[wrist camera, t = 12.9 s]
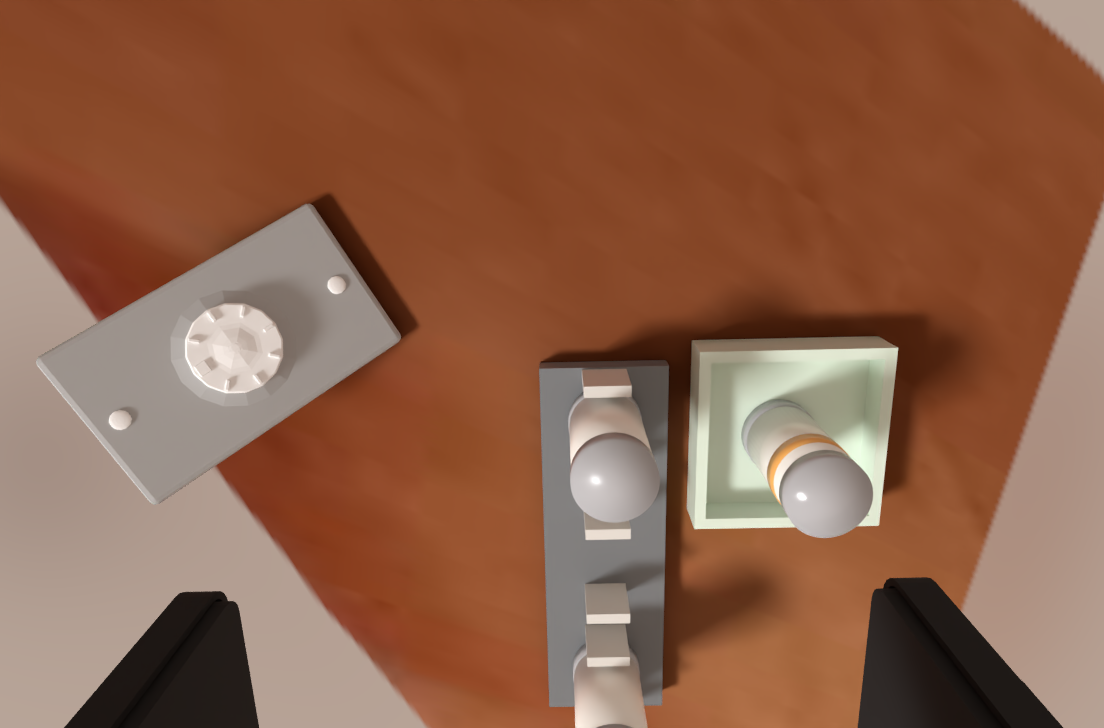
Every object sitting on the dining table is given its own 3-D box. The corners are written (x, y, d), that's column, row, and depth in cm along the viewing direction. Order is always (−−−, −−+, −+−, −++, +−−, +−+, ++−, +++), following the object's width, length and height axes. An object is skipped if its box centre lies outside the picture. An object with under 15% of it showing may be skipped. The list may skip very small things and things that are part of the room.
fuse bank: (539, 362, 41) (534, 420, 32) (665, 360, 41) (695, 417, 32) (549, 693, 47) (547, 818, 38) (659, 691, 47) (682, 816, 38)
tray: (691, 340, 41) (700, 352, 38) (878, 336, 40) (898, 347, 38) (686, 507, 43) (694, 529, 41) (860, 504, 43) (878, 525, 41)
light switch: (408, 338, 39) (151, 511, 34) (386, 340, 44) (162, 490, 40) (312, 196, 37) (26, 360, 32) (302, 217, 42) (55, 359, 38)
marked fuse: (744, 399, 41) (789, 458, 33) (816, 399, 41) (878, 458, 33) (738, 465, 42) (781, 538, 34) (809, 465, 42) (867, 537, 34)
